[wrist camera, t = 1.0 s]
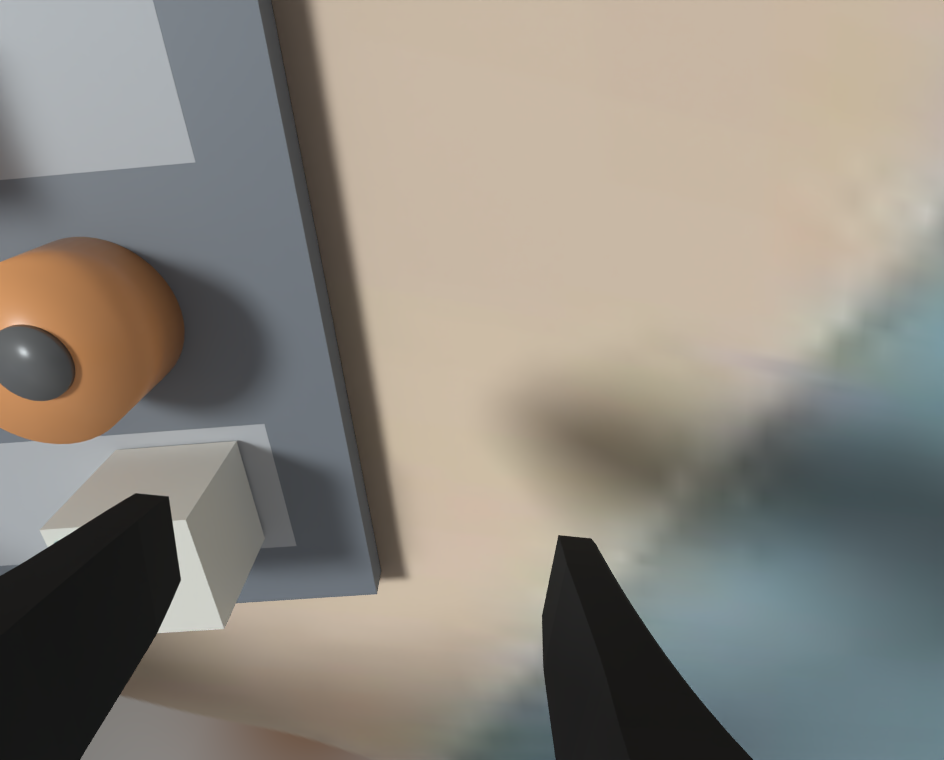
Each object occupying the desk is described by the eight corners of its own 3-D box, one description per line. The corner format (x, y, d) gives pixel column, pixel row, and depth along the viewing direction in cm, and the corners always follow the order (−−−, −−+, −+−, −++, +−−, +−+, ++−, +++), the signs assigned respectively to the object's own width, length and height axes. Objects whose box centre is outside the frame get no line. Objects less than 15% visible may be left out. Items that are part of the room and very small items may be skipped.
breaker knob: (153, 546, 22) (85, 645, 18) (115, 450, 20) (32, 537, 16) (264, 538, 22) (220, 637, 18) (236, 440, 20) (181, 527, 16)
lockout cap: (53, 395, 20) (-24, 454, 17) (-11, 244, 18) (-113, 279, 14) (203, 383, 19) (153, 441, 16) (156, 229, 17) (89, 261, 14)
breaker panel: (-67, 600, 25) (-104, 636, 23) (-539, -169, 15) (-665, -199, 13) (381, 571, 24) (374, 606, 23) (221, -256, 14) (189, -299, 12)
